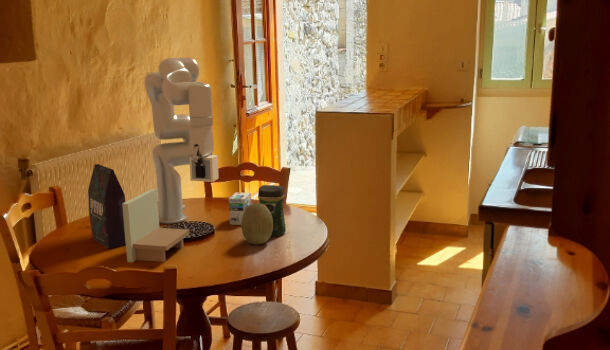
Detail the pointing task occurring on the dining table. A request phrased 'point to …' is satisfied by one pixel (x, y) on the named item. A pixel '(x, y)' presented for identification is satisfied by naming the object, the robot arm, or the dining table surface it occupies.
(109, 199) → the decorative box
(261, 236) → the fruit
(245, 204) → the light bulb box
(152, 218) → the pale l-shaped piece
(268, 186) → the coffee jar
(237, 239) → the dining table surface
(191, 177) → the cabinet block
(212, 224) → the dining table surface
